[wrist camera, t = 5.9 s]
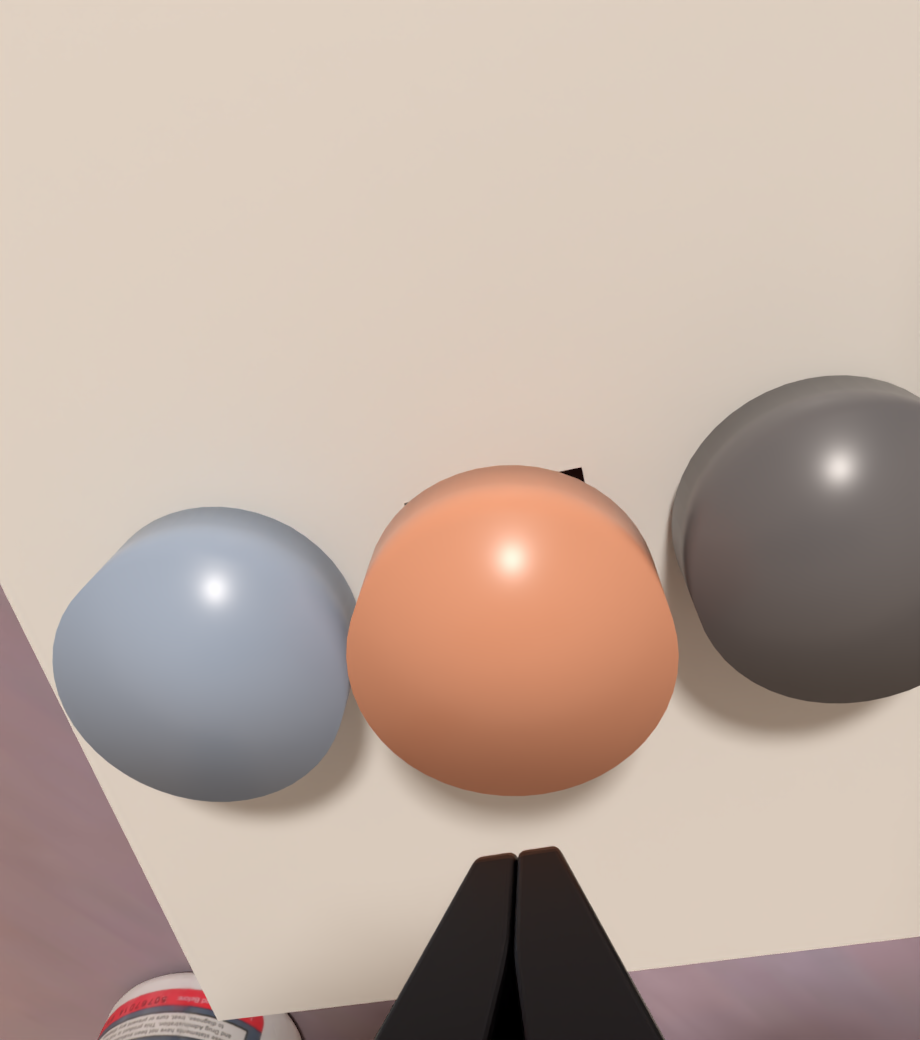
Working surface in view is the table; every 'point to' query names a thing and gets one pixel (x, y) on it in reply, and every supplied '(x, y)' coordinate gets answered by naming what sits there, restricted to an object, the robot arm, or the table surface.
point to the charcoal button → (809, 539)
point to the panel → (459, 408)
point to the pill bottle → (185, 1015)
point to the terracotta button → (512, 633)
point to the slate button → (209, 655)
